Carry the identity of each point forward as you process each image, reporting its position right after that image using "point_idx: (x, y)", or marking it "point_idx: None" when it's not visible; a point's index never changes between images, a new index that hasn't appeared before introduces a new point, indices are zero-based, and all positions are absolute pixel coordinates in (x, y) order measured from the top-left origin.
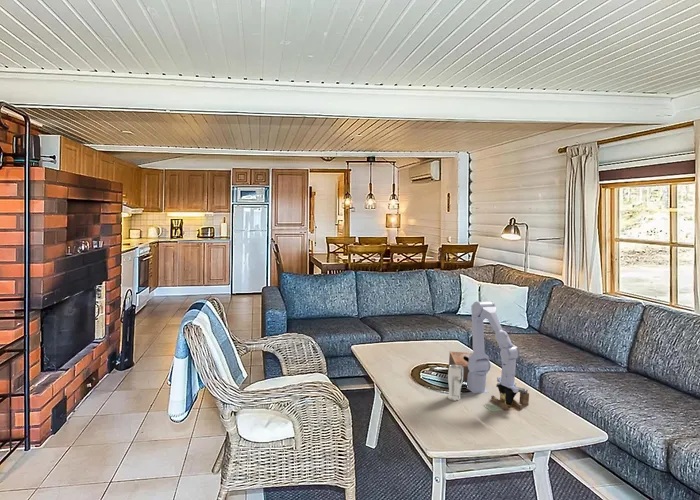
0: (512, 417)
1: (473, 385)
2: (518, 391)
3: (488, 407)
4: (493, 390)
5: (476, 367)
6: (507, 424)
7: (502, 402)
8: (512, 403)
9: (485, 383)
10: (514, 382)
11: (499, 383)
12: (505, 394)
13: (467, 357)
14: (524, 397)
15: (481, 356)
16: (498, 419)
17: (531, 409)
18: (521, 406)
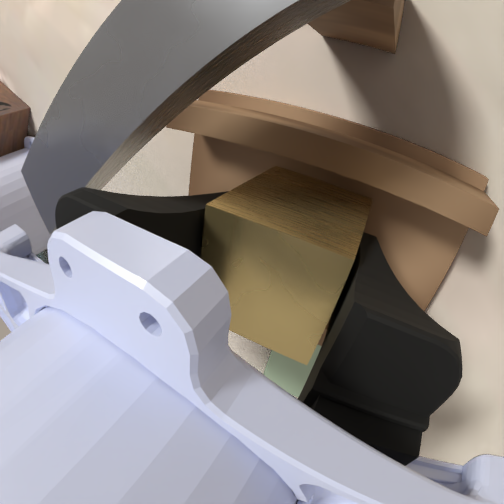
0: (488, 374)
1: (43, 250)
2: (273, 40)
3: (297, 386)
4: (61, 83)
5: None
6: (491, 444)
7: (324, 333)
8: (368, 211)
9: (22, 184)
10: (107, 309)
11: (32, 179)
12: (275, 329)
13: None
14: (398, 11)
15: None
16: (433, 440)
17: (498, 52)
18: (492, 208)
